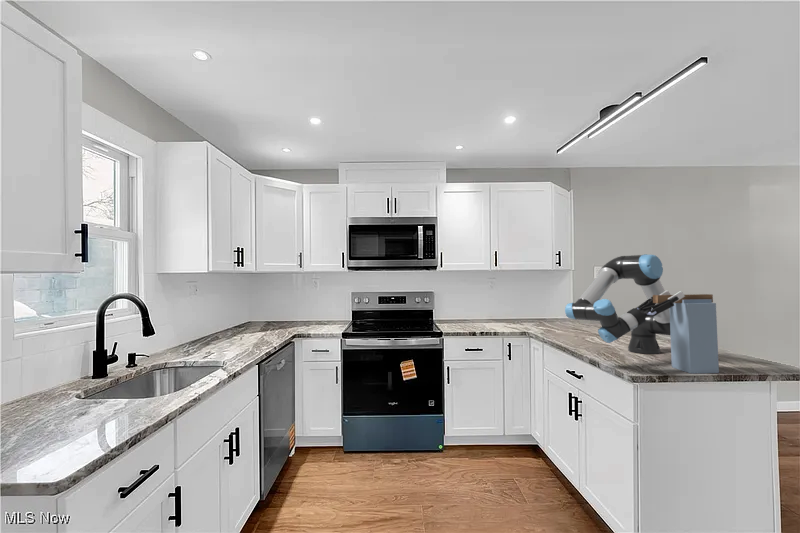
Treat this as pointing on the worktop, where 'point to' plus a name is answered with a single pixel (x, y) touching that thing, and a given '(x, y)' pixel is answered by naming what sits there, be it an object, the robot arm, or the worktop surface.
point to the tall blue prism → (694, 336)
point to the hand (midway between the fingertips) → (675, 293)
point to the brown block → (687, 297)
